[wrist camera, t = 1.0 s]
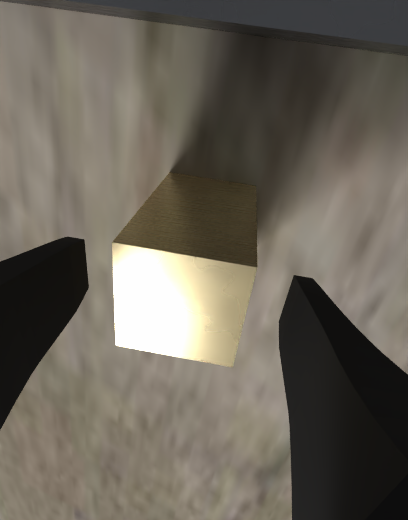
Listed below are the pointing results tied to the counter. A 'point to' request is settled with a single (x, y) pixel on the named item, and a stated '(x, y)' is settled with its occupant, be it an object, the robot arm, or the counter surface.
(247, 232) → the brass peg
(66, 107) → the counter surface
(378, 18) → the grey slotted block
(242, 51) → the counter surface
